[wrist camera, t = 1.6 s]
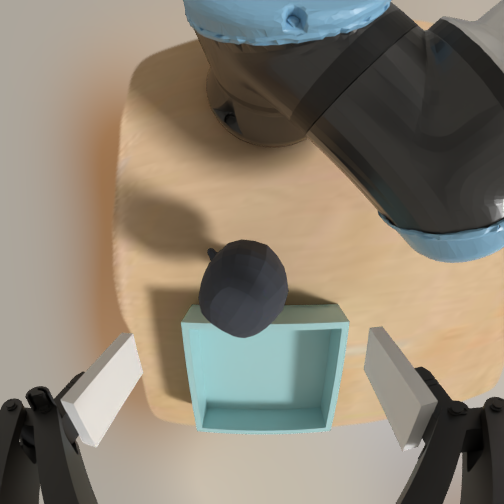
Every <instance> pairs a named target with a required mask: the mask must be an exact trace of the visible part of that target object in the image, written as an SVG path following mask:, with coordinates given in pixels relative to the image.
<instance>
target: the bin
mask: <svg viewBox="0 0 504 504" xmlns="http://www.w3.org/2000/svg"><path fill="white" fill-rule="evenodd" d="M181 327H182V336H183V344H184V352H185V359H186V367H187V374H188V380H189V387H190V393H191V399H192V405H193V411H194V417H195V422H196V427H197V431H203V432H214V433H230V434H292V433H293V434H294V433H310V432H323V431H330V430H331V426H332V421H333V417H334V412H335V407H336V403H337V398H338V392H339V387H340V382H341V376H342V370H343V364H344V358H345V351H346V344H347V337H348V330H349V320H348V319H347V317H346V316H345V314H344V313H343V311H342V310H341V308H340V307H339V305H338V304H322V305H284V308H283V310H282V312H281V313H280V314H279V315H278V316H277V318H276V319H275V320H274V321H273V322H272V323H271V324H270V325H269V326H268V327H267V328H265V329H264V330H263V331H261V332H260V333H258V334H256V335H254V336H251V337H247V338H238V337H235V336H232V335H230V334H228V333H226V332H224V331H222V330H220V329H219V328H217V327H216V326H214V325H213V324H211V323H210V322H209V321H208V320H207V319H206V318H205V317H204V316H203V314H202V313H201V309H200V305H193V304H192V305H191V307H190V308H189V310H188V312H187V313H186V315H185V317H184V318H183V320H182V321H181Z"/></svg>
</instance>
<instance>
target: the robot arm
mask: <svg viewBox="0 0 504 504" xmlns="http://www.w3.org/2000/svg"><path fill="white" fill-rule="evenodd" d="M183 1H184V6H185V15H186V16H187V20H188V22H189V23H190V26H192V27H193V28H194V30H195V33H196V35H197V37H198V39H199V41H200V44H201V46H202V48H203V50H204V53H205V55H206V57H207V59H208V62H209V64H210V69H209V72H208V75H207V82H206V90H207V97H208V101H209V104H210V106H211V109H212V111H213V112H214V114H215V116H216V117H217V119H218V120H219V122H220V123H221V124H222V125H223V126H224V127H225V128H226V129H227V130H228V131H229V132H230V133H231V134H233V135H234V136H236V137H238V138H239V139H241V140H243V141H246V142H248V143H251V144H254V145H259V146H265V147H282V146H288V145H292V144H296V143H298V142H301V141H303V140H305V139H307V138H309V139H310V140H311V141H312V142H313V143H314V144H315V145H316V146H317V147H318V148H319V149H320V150H321V151H322V152H323V153H324V154H325V155H326V156H327V157H328V158H329V159H330V160H331V161H332V162H333V163H334V164H335V165H336V166H337V167H338V168H339V169H340V170H341V171H342V172H343V173H344V174H345V175H346V176H347V177H348V178H349V179H350V180H351V181H352V182H353V183H354V184H355V186H356V187H357V188H358V189H359V190H360V191H361V192H362V193H363V194H364V195H365V196H366V198H367V199H368V200H369V201H370V202H371V203H372V204H373V205H374V207H375V208H376V209H377V210H378V214H379V216H380V217H381V218H382V219H383V221H384V222H385V223H387V224H388V225H389V226H390V227H392V228H394V229H395V230H396V231H397V232H398V233H399V234H400V235H401V236H402V237H403V238H404V240H405V241H406V242H407V243H408V244H409V245H410V246H411V247H412V248H413V249H414V250H415V251H416V252H418V253H420V254H422V255H424V256H426V257H428V258H430V259H433V260H435V261H440V262H447V263H459V262H467V261H472V260H476V259H480V258H483V257H486V256H488V255H490V254H493V253H495V252H497V251H498V250H500V249H502V248H503V247H504V0H501V1H500V2H499V3H498V4H497V5H495V6H494V7H493V8H492V9H490V11H488V12H487V13H486V14H484V15H483V16H482V17H481V18H480V19H478V20H477V21H466V20H462V19H457V18H452V17H446V16H444V17H442V18H440V19H439V20H438V21H437V22H436V23H435V24H434V25H432V26H431V27H430V28H429V29H428V30H426V31H424V30H423V29H421V28H420V27H419V26H418V25H417V24H416V23H415V22H414V21H413V20H412V19H410V18H409V17H408V16H407V15H406V14H405V13H404V12H402V11H401V10H400V9H399V8H398V7H397V6H395V5H394V4H393V3H392V2H391V0H183ZM364 371H365V373H366V375H367V377H368V379H369V381H370V383H371V385H372V387H373V389H374V391H375V393H376V395H377V397H378V399H379V401H380V404H381V406H382V408H383V410H384V412H385V414H386V416H387V418H388V421H389V423H390V425H391V427H392V429H393V431H394V434H395V436H396V438H397V440H398V442H399V445H400V447H401V449H402V451H405V450H409V449H412V448H415V447H418V446H419V444H420V441H421V439H422V438H423V440H424V442H425V446H424V448H423V450H422V452H421V454H420V456H419V457H418V461H417V464H416V466H415V468H414V470H413V472H412V474H411V476H410V478H409V480H408V482H407V484H406V486H405V488H404V489H403V491H402V493H401V495H400V497H399V499H398V500H397V502H396V504H443V501H444V499H445V496H446V494H447V491H448V489H449V486H450V483H451V480H452V478H453V474H454V472H455V469H456V465H457V462H458V459H459V456H460V453H461V452H462V453H463V455H462V459H463V463H462V490H461V501H460V504H504V399H501V398H499V397H492V398H489V399H487V400H486V402H485V404H484V406H483V407H481V408H468V406H467V405H466V404H464V403H463V402H460V401H452V399H451V398H450V397H449V396H448V394H447V393H446V392H445V390H444V389H443V388H442V386H441V385H440V384H439V383H438V381H437V380H436V379H435V377H434V376H433V375H432V374H431V372H430V371H428V370H426V369H425V368H423V367H418V368H414V367H413V366H412V365H411V363H410V362H409V361H408V359H407V358H406V357H405V355H404V354H403V353H402V351H401V350H400V349H399V347H398V346H397V345H396V344H395V342H394V341H393V340H392V338H391V337H390V336H389V335H388V333H387V332H386V331H385V329H384V328H383V327H374V328H370V329H369V337H368V344H367V351H366V358H365V365H364ZM142 374H143V370H142V367H141V363H140V359H139V356H138V352H137V348H136V344H135V340H134V335H133V334H132V333H121V334H120V335H119V336H118V338H116V339H115V341H114V342H113V343H112V344H111V345H110V346H109V347H108V348H107V349H106V350H105V351H104V352H103V353H102V354H101V356H100V357H99V358H98V359H97V360H96V361H95V362H94V363H93V364H92V365H91V366H90V368H89V369H88V370H87V371H86V372H81V373H80V374H78V375H76V376H75V377H74V378H73V379H72V380H71V381H70V383H68V384H67V385H66V387H65V388H64V389H63V390H62V391H61V392H60V393H59V394H58V395H57V396H56V398H55V399H53V397H52V395H51V393H50V391H49V389H48V388H46V387H43V386H39V387H35V388H33V389H31V390H29V391H28V392H27V394H26V399H27V401H28V403H29V405H30V407H31V408H24V406H23V404H22V402H21V401H20V400H19V399H10V400H7V401H6V402H5V403H4V404H3V405H2V407H1V410H0V504H39V489H40V485H41V491H42V495H43V500H44V504H98V503H97V500H96V497H95V495H94V492H93V490H92V487H91V484H90V482H89V478H88V475H87V473H86V469H85V466H84V463H83V460H82V456H81V453H80V449H79V446H78V444H77V442H76V438H77V437H78V435H79V436H80V438H81V440H82V441H83V443H84V444H87V445H90V446H94V447H97V446H98V444H99V443H100V441H101V439H102V438H103V436H104V434H105V433H106V431H107V429H108V428H109V426H110V424H111V423H112V421H113V420H114V418H115V416H116V415H117V413H118V412H119V410H120V408H121V407H122V405H123V404H124V402H125V400H126V399H127V397H128V396H129V394H130V392H131V391H132V389H133V388H134V386H135V385H136V383H137V381H138V380H139V378H140V377H141V375H142ZM19 439H20V442H19Z"/></svg>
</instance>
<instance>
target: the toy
mask: <svg viewBox="0 0 504 504" xmlns="http://www.w3.org/2000/svg"><path fill="white" fill-rule="evenodd" d="M207 253H208V256H209V257H210V260H211V262H210V263H209V265H208V267H207V269H206V271H205V273H204V276H203V278H202V282H201V287H200V292H199V297H198V298H199V304H200V309H201V313H202V314H203V316H204V317H205V318H206V319H207V320H208V321H209V322H210V323H211V324H213V325H214V326H216V327H217V328H219V329H220V330H222V331H224V332H226V333H228V334H230V335H232V336H235V337H238V338H247V337H251V336H254V335H256V334H258V333H260V332H261V331H263V330H264V329H265V328H267V327H268V326H269V325H270V324H271V323H272V322H273V321H274V320H275V319H276V318H277V316H278V315H279V314H280V313H281V312H282V310H283V308H284V305H285V302H286V298H287V295H288V284H287V277H286V273H285V269H284V266H283V265H282V263H281V261H280V260H279V258H278V256H277V255H276V254H275V253H274V252H273V251H272V250H271V249H270V248H269V246H268V245H265V244H262V243H259V242H256V241H250V240H238V241H234V242H231V243H228V244H227V245H226V246H225V247H224V248H222V249H221V250H220V251H219V252H218V253H217V252H216V251H215V250H214V249H213V248H209V249H208V252H207Z"/></svg>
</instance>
